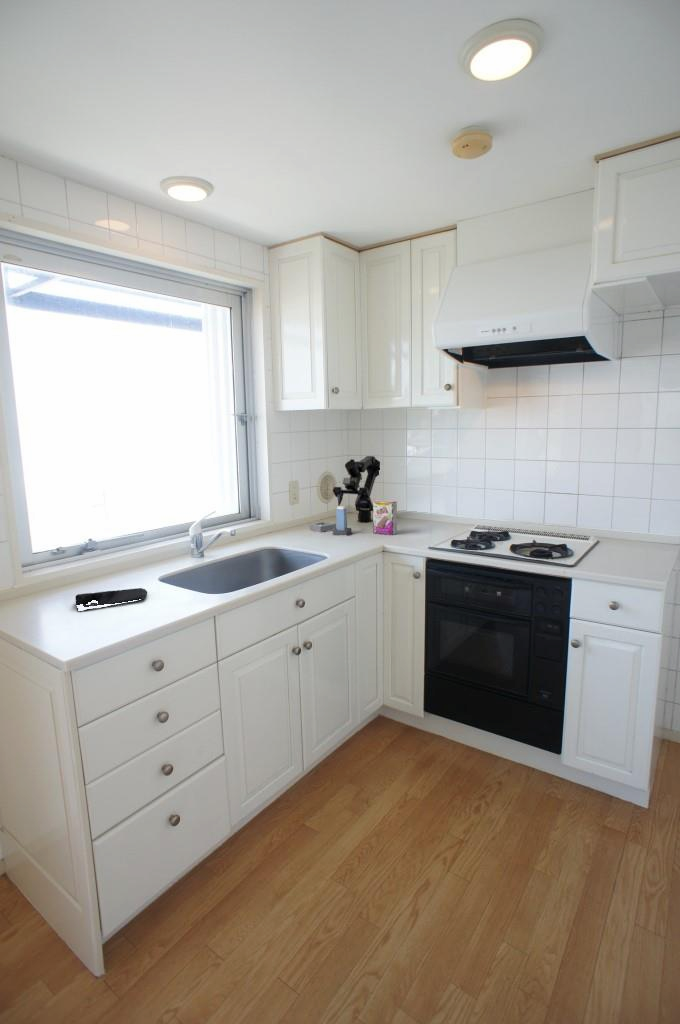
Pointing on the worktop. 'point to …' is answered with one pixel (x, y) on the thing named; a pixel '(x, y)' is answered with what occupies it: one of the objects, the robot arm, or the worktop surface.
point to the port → (322, 526)
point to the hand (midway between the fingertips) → (347, 505)
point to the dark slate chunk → (111, 596)
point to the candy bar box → (385, 517)
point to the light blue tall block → (341, 518)
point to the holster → (341, 532)
